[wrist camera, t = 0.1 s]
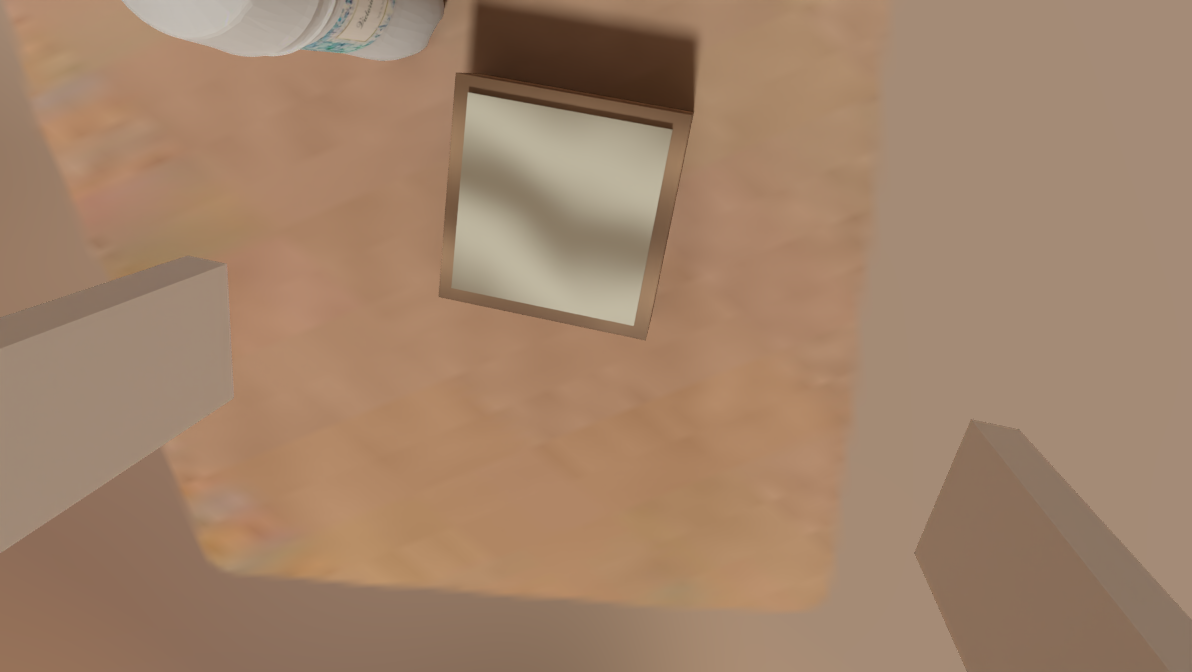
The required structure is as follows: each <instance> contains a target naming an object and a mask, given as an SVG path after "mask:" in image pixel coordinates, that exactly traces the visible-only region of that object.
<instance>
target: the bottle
mask: <svg viewBox="0 0 1192 672" xmlns="http://www.w3.org/2000/svg"><path fill="white" fill-rule="evenodd" d="M122 1H123V2H124V4H125V5H126V6H127V7H128V8H129V9H130V10H131V11H132V12H133V13H134V14H136V15H137V16H138V17H139V18H140V19H141V20H143V21H144V22H146V23H147V24H149V25H150V26H152V27H153V28H155V29H156V30H158V31H161V32H163V33H165V34H167V35H170V36H173V37H176V38H180V39H183V40H187V41H191V42H195V43H198V44H202V45H206V46H210V47H213V48H216V49H219V50H222V51H224V52H227V53H230V54H234V55H239V56H249V57H258V56H281V55H285V54H289V53H293V52H295V51H297V50H299V49H301V50H313V51H324V52H336V53H345V54H349V55H353V56H357V57H361V58H366V59H372V60H381V61H386V60H397V59H401V58H404V57H407V56H411V55H414V54H416V53H419V52H420V51H421V50H423V49H424V48H425V47H426V46H427V45H428V42H429V39H430V37H431V35H432V33H433V31H434V29H435V27H436V25H437V24H438V22H439V21H440V20H441V19H442V17H443V14H444V2H443V0H122Z"/></svg>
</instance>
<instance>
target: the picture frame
mask: <svg viewBox="0 0 1192 672" xmlns="http://www.w3.org/2000/svg"><path fill="white" fill-rule="evenodd" d="M693 114H694V112H690V111H684V110H679V109H673V108H668V107H662V106H657V105H651V104H646V103H640V102H634V101H629V100H623V99H618V98H612V97H607V96H601V95H595V94H590V93H584V92H579V91H573V90H568V89H562V88H556V87H551V86H545V85H540V84H534V83H529V82H523V81H517V80H512V79H506V78H501V77H495V76H490V75H484V74H472V73H456V78H455V91H454V104H453V117H452V130H451V143H450V156H449V169H448V182H447V195H446V208H445V221H444V234H443V246H442V259H441V272H440V285H439V297H441V298H446V299H451V300H456V301H460V302H465V303H470V304H475V305H479V306H484V307H489V308H494V309H499V310H503V311H508V312H513V313H518V314H522V315H527V316H532V317H537V318H541V319H546V320H551V321H556V322H560V323H565V324H570V325H575V326H579V327H584V328H589V329H594V330H598V331H603V332H608V333H613V334H617V335H622V336H627V337H632V338H636V339H641V340H646V337H647V333H648V329H649V325H650V320H651V316H652V311H653V307H654V302H655V297H656V292H657V287H658V282H659V278H660V273H661V268H662V263H663V258H664V253H665V249H666V244H667V239H668V234H669V229H670V225H671V220H672V215H673V210H674V205H675V200H676V196H677V191H678V186H679V181H680V176H681V172H682V167H683V162H684V157H685V152H686V147H687V143H688V138H689V133H690V128H691V123H692V118H693Z"/></svg>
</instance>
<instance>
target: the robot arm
mask: <svg viewBox="0 0 1192 672" xmlns="http://www.w3.org/2000/svg"><path fill="white" fill-rule="evenodd" d="M233 398H234V390H233V371H232V351H231V332H230V313H229V293H228V274H227V264H225V263H221V262H216V261H211V260H206V259H202V258H197V257H192V256H185V257H182V258H179V259H176V260H173V261H170V262H167V263H164V264H161V265H158V266H155V267H152V268H149V269H146V270H143V271H140V272H137V273H134V274H131V275H128V276H125V277H122V278H119V279H116V280H112V281H109V282H106V283H103V284H100V285H97V286H94V287H91V288H88V289H85V290H82V291H79V292H76V293H73V294H70V295H67V296H64V297H61V298H58V299H55V300H52V301H49V302H46V303H43V304H40V305H37V306H34V307H31V308H28V309H25V310H22V311H19V312H16V313H13V314H9V315H6V316H3V317H0V553H1V552H3V551H4V550H6V549H7V548H9V547H10V546H12V545H13V544H15V543H16V542H18V541H19V540H21V539H22V538H24V537H25V536H27V535H28V534H30V533H31V532H33V531H34V530H36V529H37V528H39V527H40V526H42V525H43V524H45V523H46V522H48V521H49V520H51V519H52V518H54V517H55V516H57V515H59V514H60V513H61V512H63V511H64V510H66V509H68V508H69V507H70V506H72V505H73V504H75V503H77V502H78V501H80V500H81V499H82V498H84V497H85V496H87V495H88V494H90V493H92V492H93V491H94V490H96V489H98V488H99V487H101V486H102V485H104V484H105V483H107V482H108V481H110V480H111V479H113V478H114V477H116V476H117V475H119V474H120V473H122V472H123V471H125V470H126V469H128V468H129V467H131V466H132V465H134V464H135V463H137V462H138V461H140V460H141V459H143V458H144V457H145V456H147V455H149V454H150V453H152V452H153V451H155V450H156V449H158V448H159V447H161V446H162V445H164V444H166V443H167V442H169V441H170V440H172V439H173V438H175V437H176V436H178V435H179V434H181V433H182V432H184V431H185V430H187V429H188V428H190V427H191V426H193V425H194V424H196V423H197V422H199V421H200V420H202V419H203V418H205V417H206V416H208V415H209V414H211V413H212V412H214V411H215V410H217V409H218V408H220V407H221V406H223V405H224V404H226V403H227V402H229V401H230V400H232V399H233ZM914 553H915V556H916V558H917V560H918V562H919V565H920V567H921V569H922V571H923V574H924V576H925V578H926V580H927V583H928V585H929V587H930V589H931V591H932V594H933V596H934V598H935V601H936V603H937V605H938V607H939V610H940V612H941V614H942V616H943V619H944V621H945V623H946V625H947V628H948V630H949V632H950V634H951V637H952V639H953V641H954V644H955V646H956V648H957V650H958V653H959V655H960V657H961V659H962V661H963V664H964V666H965V668H966V671H967V672H1192V620H1191V619H1190V617H1189V616H1188V615H1187V614H1186V613H1185V612H1184V611H1183V610H1182V609H1181V607H1179V605H1178V604H1177V603H1176V602H1175V601H1174V600H1173V599H1172V598H1171V597H1170V595H1169V594H1168V593H1167V592H1166V591H1165V590H1164V589H1163V588H1162V587H1161V585H1160V584H1159V583H1158V582H1157V581H1156V580H1155V579H1154V578H1153V577H1152V576H1151V574H1150V573H1149V572H1148V571H1147V570H1146V569H1145V568H1144V567H1143V566H1142V564H1141V563H1140V562H1139V561H1138V560H1137V559H1136V558H1135V557H1134V556H1133V555H1132V554H1131V552H1130V551H1129V550H1128V549H1127V548H1126V547H1125V546H1124V545H1123V544H1122V543H1121V541H1120V540H1119V539H1118V538H1117V537H1116V536H1115V535H1114V534H1113V532H1112V531H1111V530H1110V529H1109V528H1108V527H1107V526H1106V525H1105V524H1104V522H1102V520H1101V519H1100V518H1099V517H1098V516H1097V515H1096V514H1095V513H1094V512H1093V510H1092V509H1091V508H1090V507H1089V506H1088V505H1087V504H1086V503H1085V502H1084V500H1083V499H1082V498H1081V497H1080V496H1079V495H1078V494H1077V493H1076V492H1075V490H1074V489H1073V488H1072V487H1071V486H1070V485H1069V484H1068V483H1067V482H1066V481H1065V479H1064V478H1063V477H1062V476H1061V475H1060V474H1059V473H1058V472H1057V471H1056V470H1055V468H1054V467H1053V466H1052V465H1051V464H1050V463H1049V462H1048V461H1047V460H1046V458H1045V457H1043V455H1042V454H1041V453H1040V452H1039V451H1038V450H1037V449H1036V448H1035V446H1034V445H1033V444H1032V443H1031V442H1030V441H1029V440H1028V439H1027V438H1026V436H1025V435H1024V434H1023V433H1022V432H1021V431H1020V430H1019V429H1015V428H1010V427H1005V426H1000V425H995V424H991V423H986V422H981V421H976V420H971V421H970V423H969V426H968V428H967V430H966V432H965V435H964V437H963V439H962V442H961V444H960V446H959V449H958V451H957V454H956V456H955V458H954V461H953V463H952V465H951V468H950V470H949V472H948V475H947V477H946V479H945V482H944V484H943V486H942V489H941V491H940V494H939V496H938V498H937V501H936V503H935V505H934V508H933V510H932V512H931V515H930V517H929V519H928V522H927V524H926V526H925V529H924V531H923V534H922V536H921V538H920V541H919V543H918V545H917V548H916V550H915V552H914Z"/></svg>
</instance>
